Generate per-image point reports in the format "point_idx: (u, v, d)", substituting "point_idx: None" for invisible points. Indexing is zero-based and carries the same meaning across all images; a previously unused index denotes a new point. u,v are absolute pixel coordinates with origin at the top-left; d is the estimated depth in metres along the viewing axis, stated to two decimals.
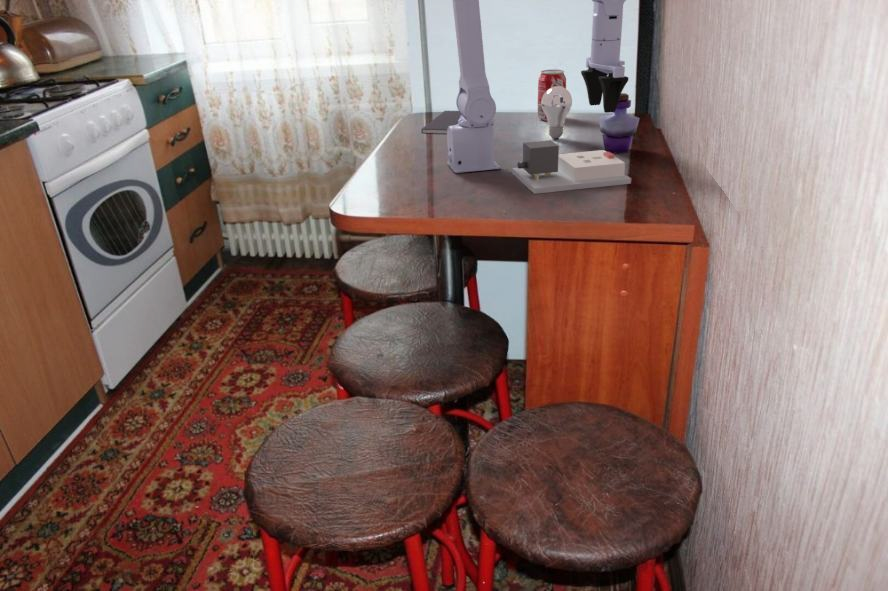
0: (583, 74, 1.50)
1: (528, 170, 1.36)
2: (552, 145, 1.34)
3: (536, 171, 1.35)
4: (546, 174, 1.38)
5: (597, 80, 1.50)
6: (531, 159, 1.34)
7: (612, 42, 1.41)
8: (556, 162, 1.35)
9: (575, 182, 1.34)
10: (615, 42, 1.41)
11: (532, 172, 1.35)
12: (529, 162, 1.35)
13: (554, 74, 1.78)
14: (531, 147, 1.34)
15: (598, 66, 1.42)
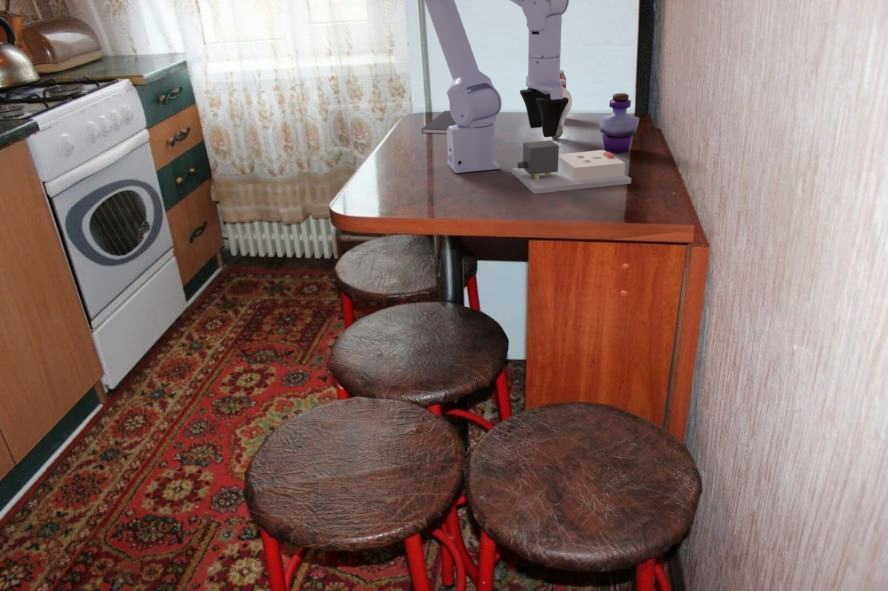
0: (522, 94, 1.36)
1: (528, 170, 1.36)
2: (552, 145, 1.34)
3: (536, 171, 1.35)
4: (546, 174, 1.38)
5: None
6: (531, 159, 1.34)
7: (550, 60, 1.27)
8: (556, 162, 1.35)
9: (575, 182, 1.34)
10: (553, 60, 1.27)
11: (532, 172, 1.35)
12: (529, 162, 1.35)
13: None
14: (531, 147, 1.34)
15: (535, 86, 1.28)
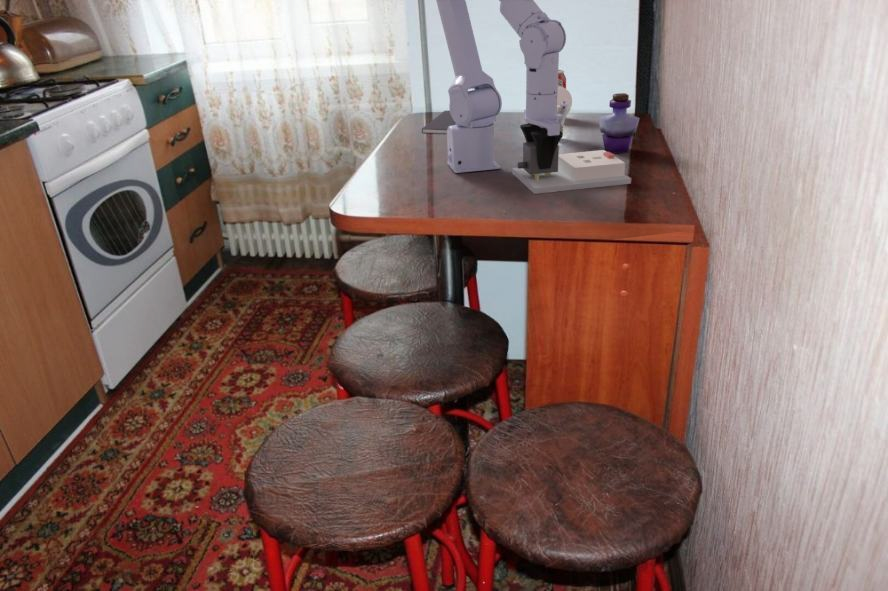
0: (522, 129, 1.37)
1: (528, 170, 1.36)
2: None
3: (536, 171, 1.35)
4: (546, 174, 1.38)
5: None
6: (531, 159, 1.34)
7: (547, 96, 1.29)
8: (556, 162, 1.35)
9: (575, 182, 1.34)
10: (550, 96, 1.29)
11: (532, 172, 1.35)
12: (529, 162, 1.35)
13: None
14: (531, 147, 1.34)
15: (533, 122, 1.31)
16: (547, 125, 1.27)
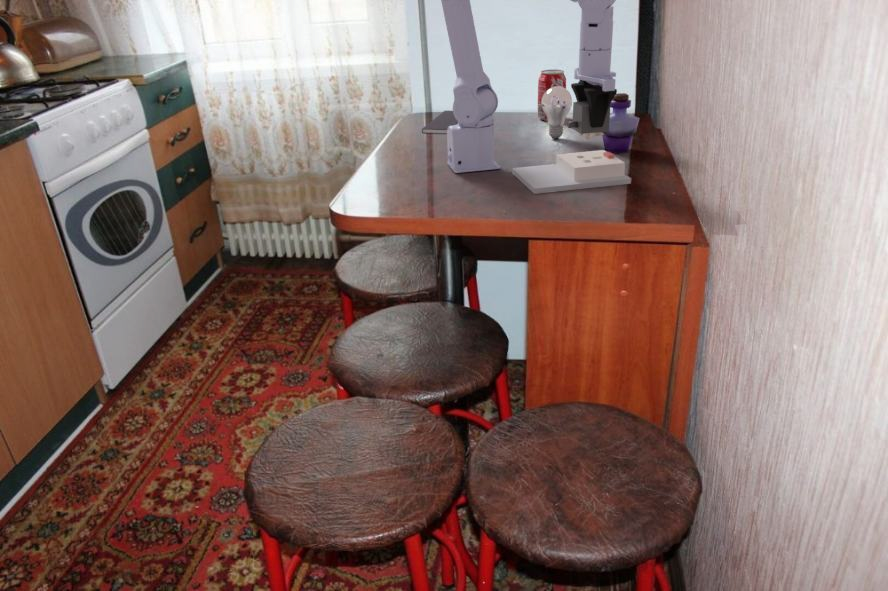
0: (573, 87, 1.35)
1: (579, 129, 1.35)
2: None
3: (587, 130, 1.34)
4: (596, 134, 1.37)
5: None
6: (582, 118, 1.33)
7: (602, 52, 1.28)
8: (607, 121, 1.34)
9: (575, 182, 1.34)
10: (605, 52, 1.28)
11: (583, 131, 1.34)
12: (580, 121, 1.33)
13: (554, 74, 1.78)
14: (583, 106, 1.32)
15: (586, 78, 1.29)
16: (602, 80, 1.26)
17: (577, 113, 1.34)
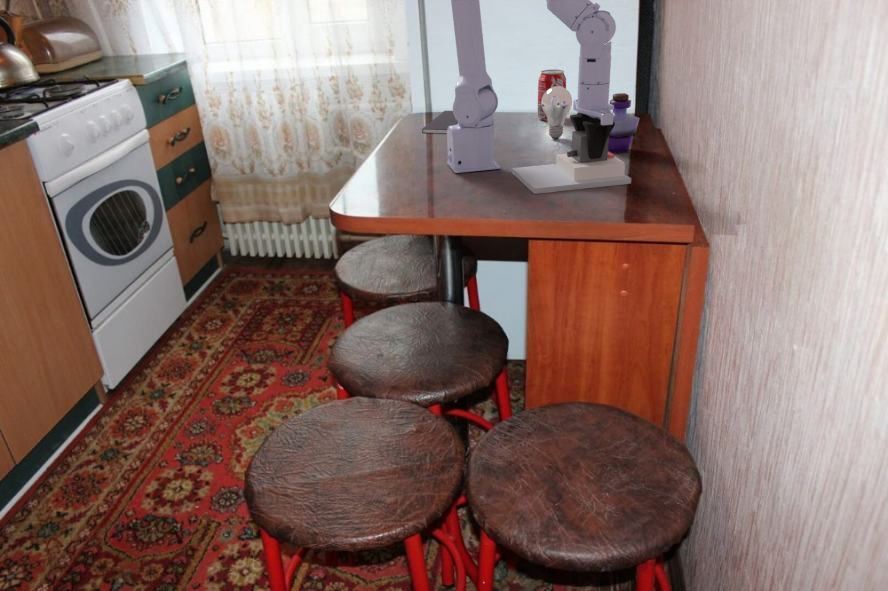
0: (572, 119, 1.38)
1: (578, 158, 1.37)
2: None
3: (586, 159, 1.36)
4: None
5: None
6: (581, 148, 1.35)
7: (600, 86, 1.30)
8: (606, 150, 1.36)
9: (575, 182, 1.34)
10: (603, 86, 1.30)
11: (582, 160, 1.36)
12: (579, 150, 1.36)
13: (554, 74, 1.78)
14: (581, 135, 1.35)
15: (585, 111, 1.32)
16: (600, 115, 1.29)
17: (576, 142, 1.37)
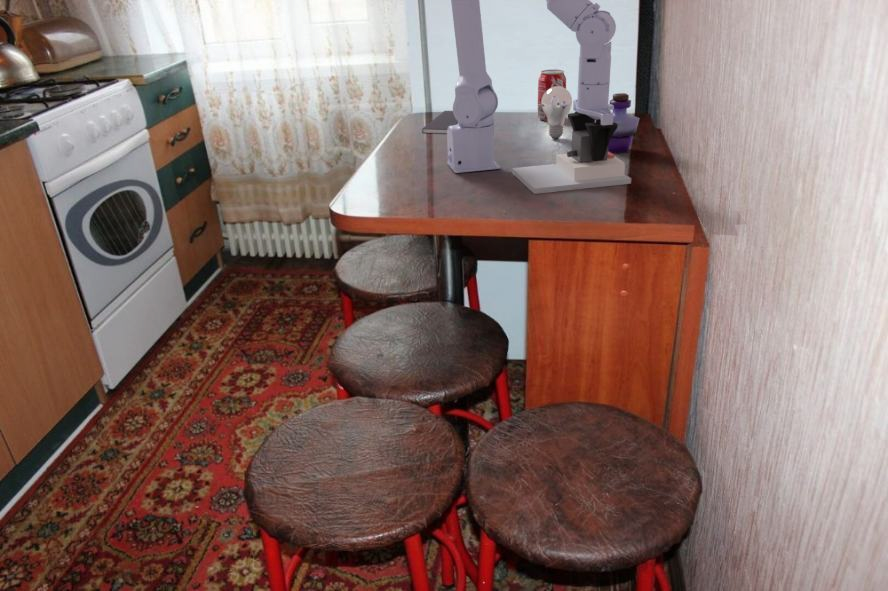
0: (570, 118, 1.39)
1: (578, 158, 1.37)
2: None
3: (586, 159, 1.36)
4: None
5: (585, 124, 1.40)
6: (581, 148, 1.35)
7: (600, 86, 1.30)
8: None
9: (575, 182, 1.34)
10: (603, 86, 1.30)
11: (582, 160, 1.36)
12: (579, 150, 1.36)
13: (554, 74, 1.78)
14: (581, 135, 1.35)
15: (585, 112, 1.32)
16: (600, 115, 1.29)
17: (576, 142, 1.37)
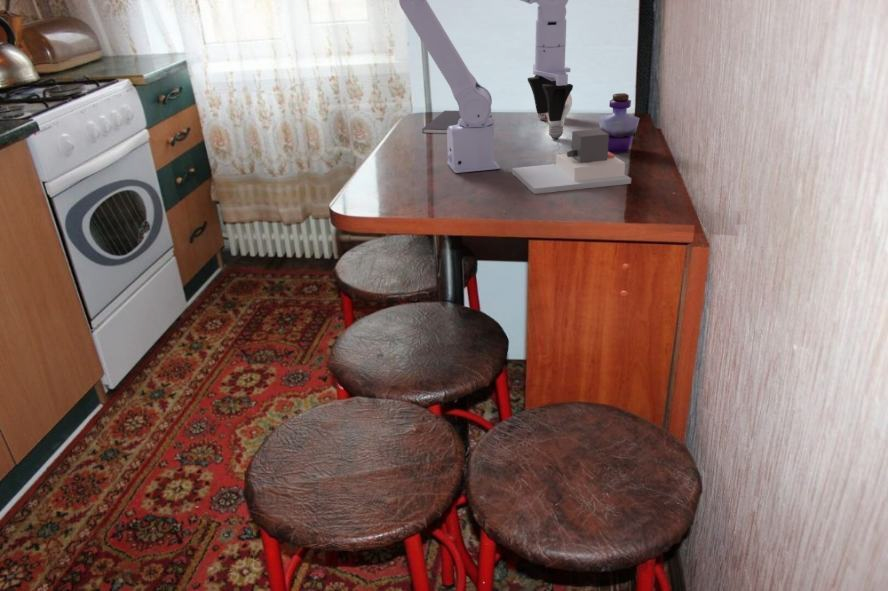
0: (529, 81, 1.45)
1: (578, 158, 1.37)
2: (602, 134, 1.35)
3: (586, 159, 1.36)
4: None
5: None
6: (581, 148, 1.35)
7: (555, 49, 1.36)
8: (606, 150, 1.36)
9: (575, 182, 1.34)
10: (559, 49, 1.36)
11: (582, 160, 1.36)
12: (579, 150, 1.36)
13: None
14: (581, 135, 1.35)
15: (542, 73, 1.38)
16: (556, 75, 1.34)
17: (576, 142, 1.37)
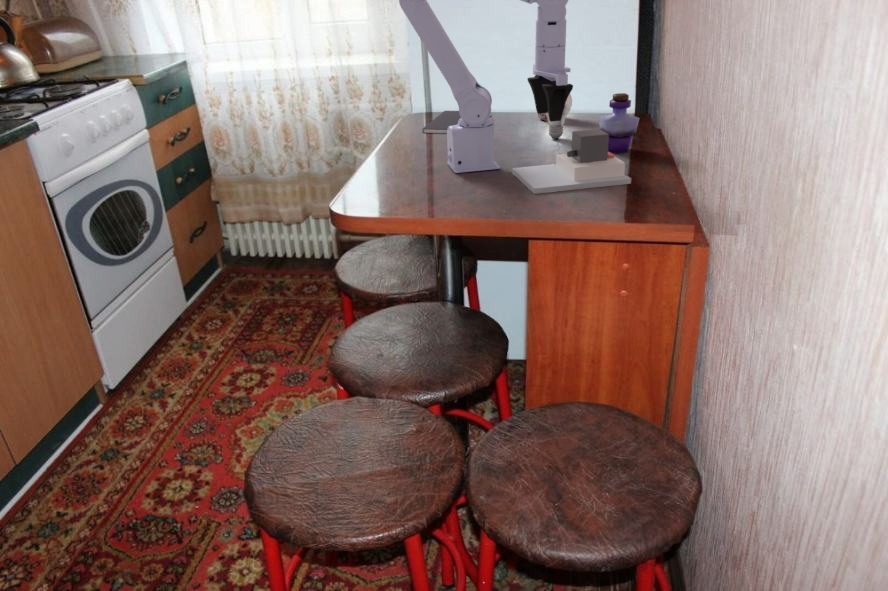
0: (529, 81, 1.45)
1: (578, 158, 1.37)
2: (602, 134, 1.35)
3: (586, 159, 1.36)
4: None
5: None
6: (581, 148, 1.35)
7: (555, 49, 1.36)
8: (606, 150, 1.36)
9: (575, 182, 1.34)
10: (559, 49, 1.36)
11: (582, 160, 1.36)
12: (579, 150, 1.36)
13: None
14: (581, 135, 1.35)
15: (542, 73, 1.38)
16: (556, 75, 1.34)
17: (576, 142, 1.37)
